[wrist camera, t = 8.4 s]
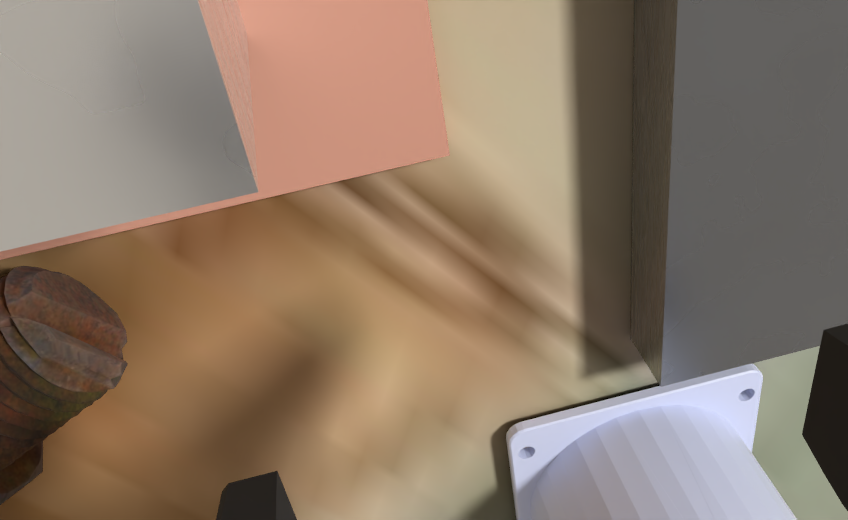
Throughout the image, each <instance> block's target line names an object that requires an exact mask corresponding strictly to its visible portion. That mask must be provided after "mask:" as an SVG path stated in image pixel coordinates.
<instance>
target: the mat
mask: <svg viewBox="0 0 848 520" xmlns="http://www.w3.org/2000/svg"><path fill="white" fill-rule="evenodd" d="M237 2H238V5H239V9H240V12H241V16H242V19H243V22H244V26H245V29H246V33H247V41H248V55H249V69H250V83H251V96H252V110H253V124H254V138H255V151H256V165H257V179H258V192H257V193H252V194H248V195H244V196H239V197H235V198H231V199H226V200H222V201H218V202H213V203H209V204H205V205H200V206H196V207H192V208H187V209H183V210H179V211H174V212H170V213H166V214H161V215H157V216H153V217H148V218H144V219H140V220H135V221H131V222H127V223H122V224H118V225H114V226H109V227H105V228H101V229H96V230H92V231H88V232H83V233H79V234H75V235H70V236H66V237H62V238H57V239H53V240H49V241H44V242H40V243H36V244H31V245H27V246H23V247H18V248H14V249H10V250H5V251H1V252H0V260H2V259H6V258H10V257H15V256H19V255H23V254H27V253H32V252H36V251H40V250H45V249H49V248H53V247H58V246H62V245H66V244H70V243H75V242H79V241H83V240H88V239H92V238H96V237H101V236H105V235H109V234H113V233H118V232H122V231H126V230H131V229H135V228H139V227H144V226H148V225H152V224H156V223H161V222H165V221H169V220H174V219H178V218H182V217H187V216H191V215H195V214H199V213H204V212H208V211H212V210H217V209H221V208H225V207H230V206H234V205H238V204H242V203H247V202H251V201H255V200H260V199H264V198H268V197H273V196H277V195H281V194H285V193H290V192H294V191H298V190H303V189H307V188H311V187H316V186H320V185H324V184H328V183H333V182H337V181H341V180H346V179H350V178H354V177H358V176H363V175H367V174H371V173H376V172H380V171H384V170H389V169H393V168H397V167H401V166H406V165H410V164H414V163H419V162H423V161H427V160H432V159H436V158H440V157H444V156H449V155H450V154H449V147H448V140H447V134H446V127H445V120H444V113H443V106H442V99H441V92H440V85H439V78H438V72H437V65H436V58H435V51H434V44H433V37H432V30H431V23H430V17H429V10H428V3H427V0H237Z"/></svg>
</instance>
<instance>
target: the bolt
mask: <svg viewBox="0 0 848 520" xmlns="http://www.w3.org/2000/svg"><path fill="white" fill-rule="evenodd" d="M126 342H127V336H126V330H125V328H124V326H123V324H122V322H121V320H120V319H119V317H118V315H117V313H116V312H115V311H114V310H113V309H112V308H110V307H109V306H108V305H107V304H106V303H105V302H104V301H103V300H102V299H101V298H100V297H98V296H97V295H96V294H95V293H93V292H92V291H91V290H90V289H88V288H87V287H86V286H85V285H83V284H82V283H81V282H79V281H77V280H75V279H73V278H72V277H70V276H68V275H65V274H62V273H59V272H51V271H49V270H46V269H42V268H38V267H28V266H21V267H17V268H14V269H13V270H11V271H10V272H9V274H8V275H6V276H4V277H2V278H1V279H0V505H1V504H2V503H4V502H5V501H6V500H7V499H9V498H10V497H11V496H13V495H14V494H15V493H16V492H18V491H19V490H20V489H22V488H23V487H24V486H25V485H27V484H28V483H29V482H31V481H32V480H33V479H34V478H36V477H37V476H38V475H39V474H40V473H42V472H43V440H44V439H45V438H46V437H47V436H48V435H50V434H52V433H54V432H55V431H56V430H57V429H58V428H59V427H62V426H63V425H64V424H65V423H66V422H67V421H68V420H70V419H71V418H72V417H75V416H77V415H78V414H79V413H80V412H81V411H82V410H83V409H84V408H86V407H88V406H90V405H92V404H93V402H94V401H96V400H98V399H100V398H101V397H102V396H103V395H104V394H105V393H106V392H107V390H108V389H113V388H115V387H116V386H117V384H118V382H119V381H120V379H121V376H122V374H123V372H124V370H125V368H126V366H127V362H126V361H124V360H123V354H122V350H121V349H122V348H123V346H124V345H125V344H126Z"/></svg>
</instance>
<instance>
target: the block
mask: <svg viewBox="0 0 848 520" xmlns="http://www.w3.org/2000/svg"><path fill="white" fill-rule="evenodd" d="M844 324H848V0H634V84H633V175H632V266H631V340H632V341H633V343H634V344H635V346H636V348H637V349H638V351H639V353H640V354H641V356H642V357H643V359H644V361H645V362H646V364H647V365H648V367H649V369H650V370H651V372H652V373H653V375H654V377H655V378H656V380H657V382H658V383H659V385H660V386H661V387H662V386H666V385H670V384H674V383H678V382H682V381H686V380H689V379H693V378H697V377H701V376H705V375H709V374H713V373H716V372H720V371H724V370H728V369H732V368H736V367H739V366H743V365H747V364H751V363H755V362H759V361H763V360H766V359H770V358H774V357H778V356H782V355H786V354H790V353H793V352H797V351H801V350H805V349H809V348H813V347H816V346H820V344H821V339H822V335H823V330H825V329H829V328H833V327H836V326H840V325H844Z"/></svg>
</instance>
